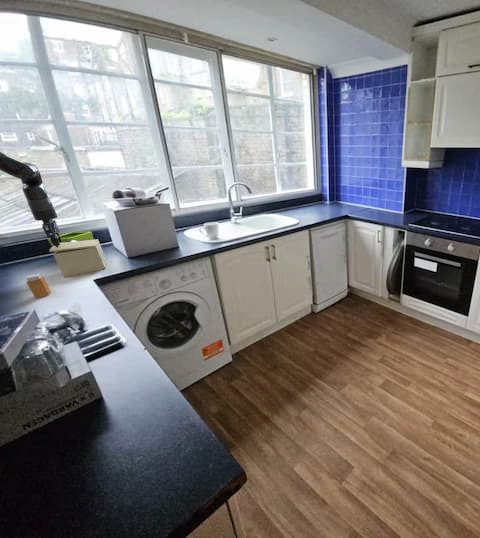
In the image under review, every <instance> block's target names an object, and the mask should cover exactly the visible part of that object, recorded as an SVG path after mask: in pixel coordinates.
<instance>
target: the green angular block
mask: <svg viewBox="0 0 480 538" xmlns="http://www.w3.org/2000/svg"><path fill="white" fill-rule="evenodd" d="M59 235H60V238H61V240H62V242H61V243H63V242H66V241H71V240H75V241H85V240H94V235H93V232H92V231H70V232H66V233H62V234H59ZM47 241H48V243H49V244H50V246H51V247H52V246H53V243H52V241H51V239H50V238H48V237H47Z"/></svg>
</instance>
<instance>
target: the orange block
mask: <svg viewBox="0 0 480 538" xmlns="http://www.w3.org/2000/svg"><path fill="white" fill-rule="evenodd" d="M25 280H26V284H27V286H28V287H29V289H30V292H31V293H32V295H33V297H34V299H39V298H43V297H47V296H50V295H51V293H52V291H51V289H50V287H49V284H48V283H47V281H46V279H45V277H44V275H42V274H41V273H35V274H29V275H27V277H25Z"/></svg>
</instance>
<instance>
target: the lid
mask: <svg viewBox="0 0 480 538" xmlns="http://www.w3.org/2000/svg"><path fill="white" fill-rule="evenodd" d="M56 236H57V238H59V236H58V235H56ZM58 241H59V240H58ZM98 241H99V239H98V238H97V239H95V238H94V239H93V240H85V241H75V242H65V243H60V245H58V246H54V245H53V246H52V245H51V247H50V248H49V250H48V251H49V253H53V252H54V253H55V252H56V251H64V250H73V249H82V248H91V247H96V246H97V243H98Z"/></svg>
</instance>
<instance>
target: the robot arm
mask: <svg viewBox="0 0 480 538" xmlns="http://www.w3.org/2000/svg"><path fill="white" fill-rule="evenodd" d="M0 171H2V172H3V173H5V174H7V175H9V176H11V177H13V178H15V179H18V180H20V181H21V184H22V189H21V190H22V193H23V195H24V197H25V199H26V202H27V205H28V208H29V209H30V212H31V214H32V216H33V218H34V220H35V221H37V222H38V221H42V224H41V225H42V226H41V228H42V229H43V231H44V233H45V235H46V237H47V239H48V238H50V239H51V241H52V243H53V245H54V246H58V245H60V243H61V242H62V240H61V238H60V235H61V234H60V229H59V227H58V224H57V221H56V220H55V219H57V218H58V215H57V212H56V209H55V208H54V205H53V202H52V201H51V199H50V197H49V195H48V193H47V191H46V189H45V187H44V181H43V178H42V175H41V172H40V170H39V168H38V167H37V166H36V165H35V164H32V163H31V162H25V161H24V162H22V161H19V160H17V159H14V158H12V157H9V156H8V155H7V154H6V153H3V152H2V151H0ZM56 235H58V236H59V238H57V236H56ZM58 240H59V241H58Z"/></svg>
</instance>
